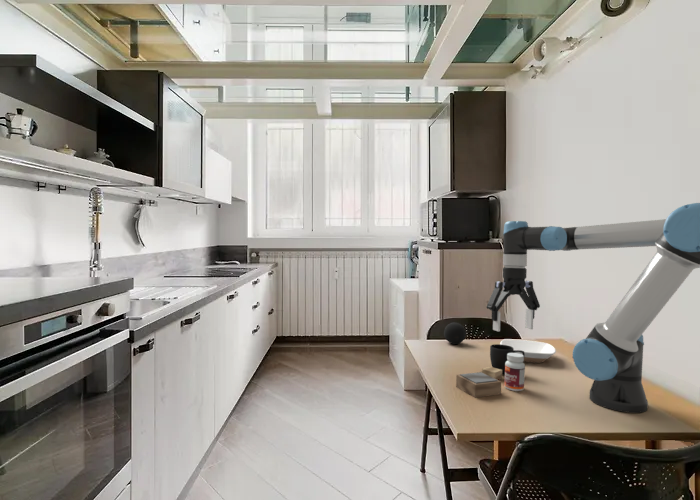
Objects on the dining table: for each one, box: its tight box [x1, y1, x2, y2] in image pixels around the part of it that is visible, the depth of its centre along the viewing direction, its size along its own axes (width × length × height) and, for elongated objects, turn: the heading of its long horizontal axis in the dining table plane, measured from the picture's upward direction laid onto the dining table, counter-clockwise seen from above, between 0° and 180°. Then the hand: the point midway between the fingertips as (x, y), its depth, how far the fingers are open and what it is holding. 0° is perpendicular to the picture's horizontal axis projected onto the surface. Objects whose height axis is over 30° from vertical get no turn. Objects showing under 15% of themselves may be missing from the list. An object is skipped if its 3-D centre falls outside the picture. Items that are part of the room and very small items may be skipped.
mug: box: [489, 343, 525, 376], centre depth 157 cm, size 8×12×10 cm
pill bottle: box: [503, 353, 526, 392], centre depth 141 cm, size 6×6×11 cm
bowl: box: [499, 338, 557, 364], centre depth 179 cm, size 22×22×5 cm
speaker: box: [443, 321, 467, 345], centre depth 200 cm, size 10×10×10 cm
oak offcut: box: [481, 366, 503, 380], centre depth 151 cm, size 5×5×3 cm
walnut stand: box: [455, 371, 502, 398], centre depth 138 cm, size 10×10×4 cm
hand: (513, 329), depth 143 cm, fingers open, 13 cm apart
